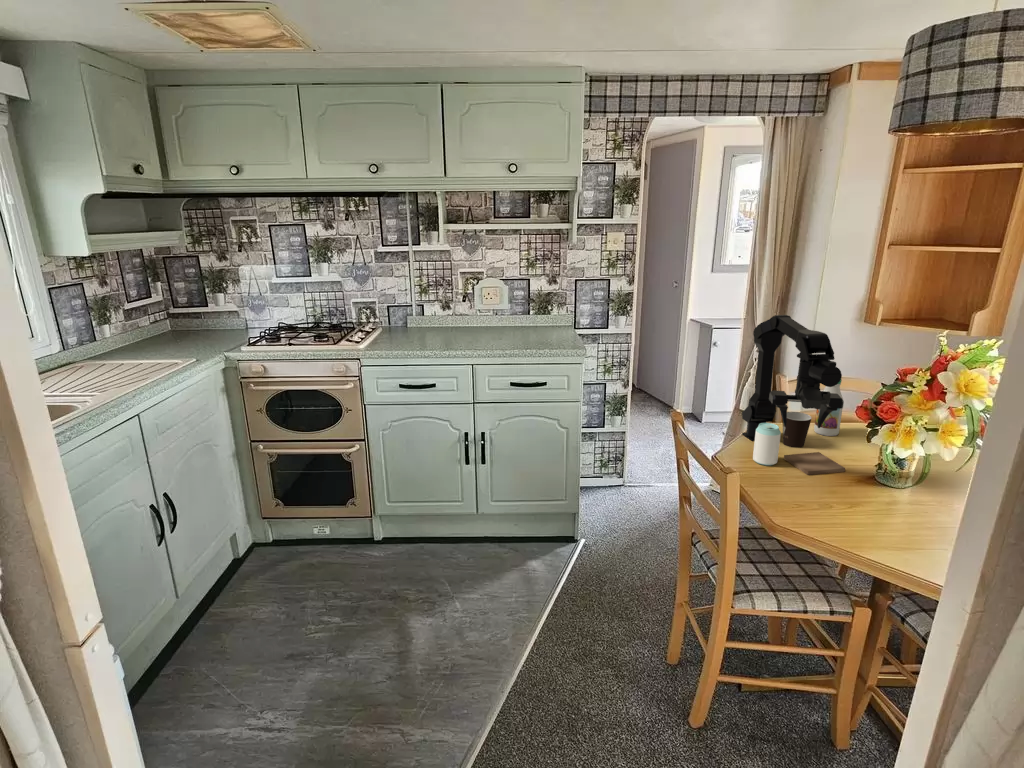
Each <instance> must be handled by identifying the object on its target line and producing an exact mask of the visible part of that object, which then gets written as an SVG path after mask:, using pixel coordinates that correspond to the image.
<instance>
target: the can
mask: <svg viewBox="0 0 1024 768" xmlns="http://www.w3.org/2000/svg"><path fill="white" fill-rule="evenodd" d="M781 434H782V433H781V429H780V427H779V425H777V424H776V423H773V422H766V423H760V424H759V426H758V427H757V428H756V433H755V441H754V442H753V443H754V444H753V453H752V460H753V461H754V462H755V463H757V464H758V465H761V466H774V465H775V464H777V463H778V459H779V451H780V442H781Z"/></svg>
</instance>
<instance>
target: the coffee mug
mask: <svg viewBox="0 0 1024 768" xmlns="http://www.w3.org/2000/svg"><path fill="white" fill-rule="evenodd" d="M811 422H812V416H811V415H809V414H808V413H804V412H802V411H801V412H799V411H787V423H786V426H784V424H783V423H782V444H783V445H784V446H786V447H789V448H794V449H801V448H803V447H804V446H805V444H806V439H807V436H808V432H809V429H810V426H811Z"/></svg>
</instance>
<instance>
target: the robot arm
mask: <svg viewBox="0 0 1024 768" xmlns="http://www.w3.org/2000/svg"><path fill="white" fill-rule="evenodd" d="M752 335H753V343H754V345H755V346H756V348H757V350H758V354H757V355H758V356H757V366H756V375H755V377H756V378H755V386H754V387H755V389H754V393H753V394H752V395H751V396H750V398H749V399H748V404H747V407H746V408H744V410H743V411H742V412H741V416H742V417H741V418H742V420H743V421H745V422H747V424H746V432H742V434H741V435H742V436H744V437H745V438H747V439H748V440H749V441H752V442H753V441H754V442H755V433H756V428H757V427H758V426H759V424H760V423H773V421H774V418H775V415H776V412H777V408H778V409H779V411H780V415H781V420H782V425H783V424H784V426H786V423H787V412H788V409H789V406H788V402H792V403H793V402H794V403H801V407H802V408H803V409H815V410H817V409H820V412H819V417H818V428H820V427H821V425H822V424H823V422H824V421H825V419H826V417H827V416H828V415H829V414H830V413H831V412H832V411H837V408H839V409H842V408H843V409H844V403H845V402H844V398H843V399H842V398H841V397H840V396H839V395H838V394H836V393H830V392H825V391H823V390H821V385H823V386H825V387H826V386H827V387H832V386H835V385H837V384H838V383H839V382H840V380H841V379H842V378H843V377H842V376H843V374H842V371H841V369H840V368H838V366H837V362H836V361H835V351H834V349H833V346H832V344H831V340H830V337H829V336H828V334H827V333H825V332H822V331H819V330H812V329H808V328H807V327H806V326H805V325H803V324H801V323H799V322H797V321H796V320H794V319H793V318H792V317H791V316H790V315H788V314H775V315H773V316H772V317H770V318H769V319H766V320H765V321H762V322H760V323H759V324H757V325H756V327H755V328H753V333H752ZM784 336H786V337H788V338H790V340H792V341H794V342H795V348H796V349H797V350H798V351H799V352H798V354H796V357H797V358H799V362H798V363H799V365H798V371H797V375H796V387H795V389H794V393H795V394H787V393H786V391H785V390H772V387H773V386H772V384H773V377H774V376H773V375H774V374H773V373H774V365H775V364H774V363H775V352H776V351H777V350H778V348H779V347H780V346H781V344H782V339H783V337H784ZM843 409H842V410H843Z"/></svg>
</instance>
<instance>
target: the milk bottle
mask: <svg viewBox="0 0 1024 768" xmlns="http://www.w3.org/2000/svg"><path fill="white" fill-rule="evenodd" d="M841 385H842V378H841V380H840V382H839V383H838V384H837V385H835V386H832V387H827V386H825V387H824V388H823V390H822V391H825V392H830V393H836V394H838V395H839V396H840V397H841V398H842V399H843V400H844V398H843V394H842V392H841ZM843 409H844V407H843V408H842V409H839V408H837V411H832V412H831V413H830V414H829V415H828V416H827V417H826V419H825V421H824V422H823V424H822V425H821V427H820V428H818V417H819V412H820V409H816V413H815V418H814V419H815V420H814V424H813V425H814V427H813V430H814V432H815V433H816V434H818V435H821V436H827V437H836V436H838V435H839V433H840V428H841V422H842V415H843Z"/></svg>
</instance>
